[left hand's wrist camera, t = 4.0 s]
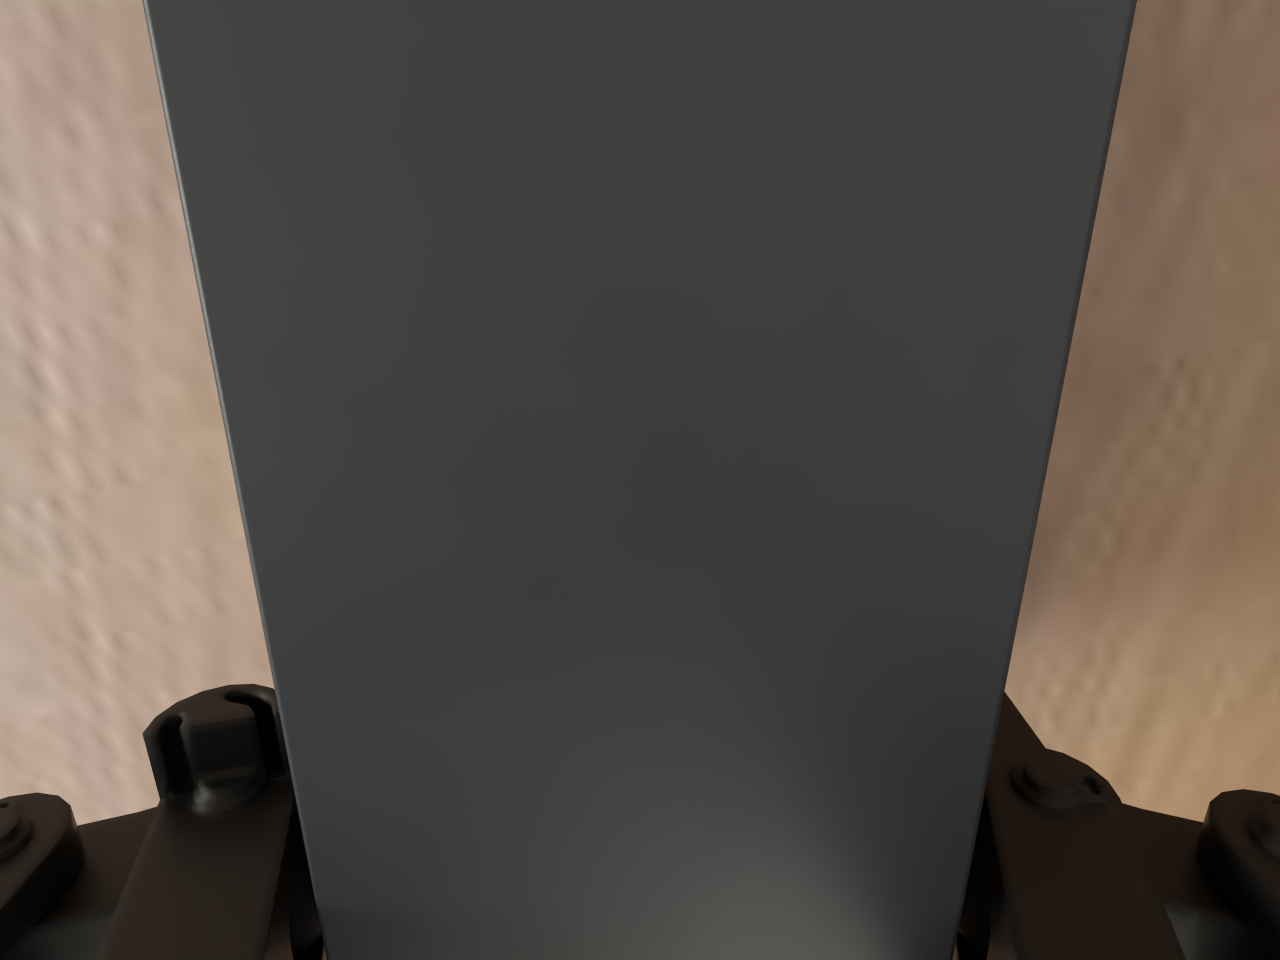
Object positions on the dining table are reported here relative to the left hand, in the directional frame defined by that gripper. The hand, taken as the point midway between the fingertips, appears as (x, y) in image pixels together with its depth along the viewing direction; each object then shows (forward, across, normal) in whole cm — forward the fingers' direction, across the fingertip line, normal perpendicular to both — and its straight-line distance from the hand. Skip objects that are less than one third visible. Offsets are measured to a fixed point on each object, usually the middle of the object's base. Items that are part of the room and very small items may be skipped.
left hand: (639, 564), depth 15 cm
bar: (+1, 0, -8) cm, 8 cm away
